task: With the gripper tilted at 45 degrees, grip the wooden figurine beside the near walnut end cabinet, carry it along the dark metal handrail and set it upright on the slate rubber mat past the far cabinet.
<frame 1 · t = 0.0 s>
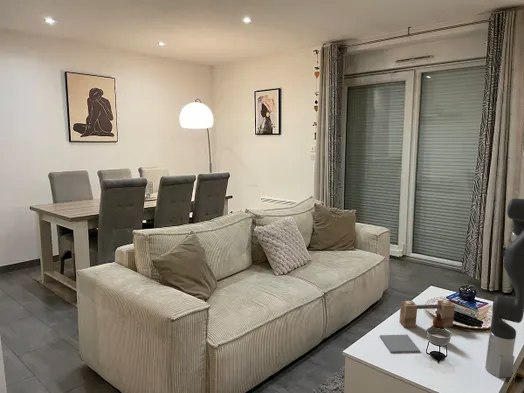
hand: (516, 264, 206), 31 cm above the table, tool tilted 20°, fingers open, 8 cm apart
wooden figurine: (436, 340, 190), on the table
slate mat: (399, 344, 186), on the table
handrail: (425, 324, 205), on the table
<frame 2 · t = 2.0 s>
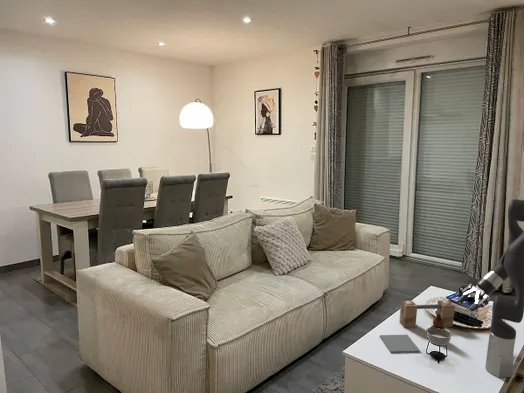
hand: (464, 305, 188), 17 cm above the table, tool tilted 45°, fingers open, 8 cm apart
nothing on the table moved.
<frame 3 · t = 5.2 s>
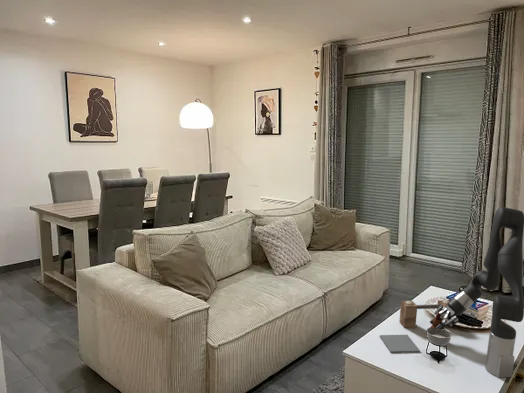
hand: (434, 326, 189), 7 cm above the table, tool tilted 45°, fingers closed on wooden figurine, 5 cm apart
wooden figurine: (436, 340, 190), on the table, touching gripper
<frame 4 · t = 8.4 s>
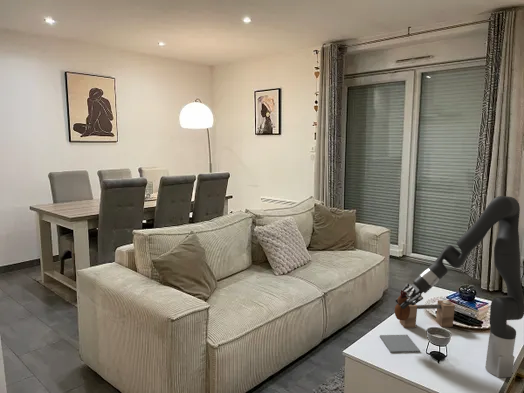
hand: (399, 304, 182), 20 cm above the table, tool tilted 45°, fingers closed on wooden figurine, 5 cm apart
wooden figurine: (401, 319, 184), point 13 cm above the table, touching gripper
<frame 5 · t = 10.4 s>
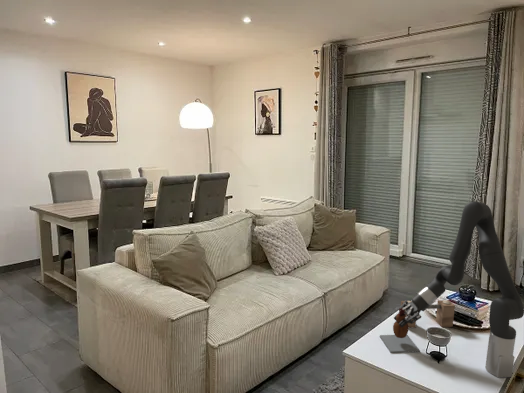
hand: (397, 322, 184), 11 cm above the table, tool tilted 45°, fingers closed on wooden figurine, 5 cm apart
wooden figurine: (400, 336, 186), point 4 cm above the table, touching gripper
when the fingers open (9 cm above the table, at t = 11.8 s): wooden figurine drops 1 cm, resting on slate mat.
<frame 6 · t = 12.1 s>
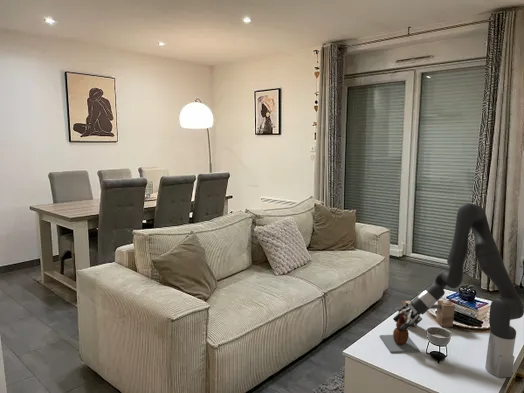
hand: (397, 325, 184), 10 cm above the table, tool tilted 45°, fingers open, 8 cm apart
wooden figurine: (400, 343, 185), point 1 cm above the table, touching slate mat
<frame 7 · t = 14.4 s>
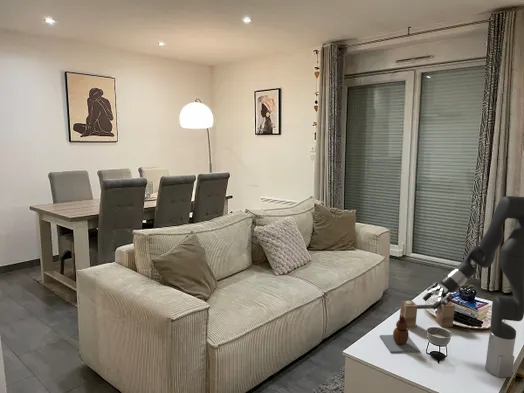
hand: (428, 303, 183), 20 cm above the table, tool tilted 45°, fingers open, 8 cm apart
nothing on the table moved.
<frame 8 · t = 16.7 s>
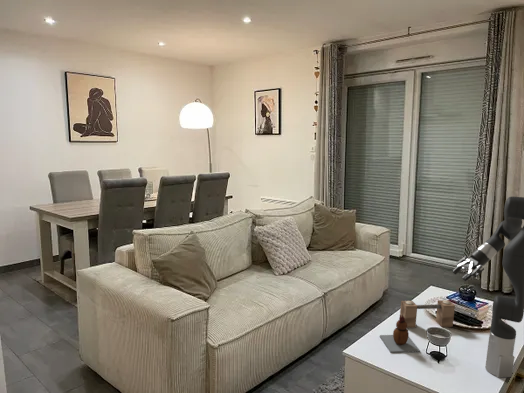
hand: (458, 276, 190), 31 cm above the table, tool tilted 45°, fingers open, 8 cm apart
nothing on the table moved.
at the end: wooden figurine inside the target area (0.4 cm from its centre), point 0.6 cm above the table; wooden figurine tilted 0°; the gripper is holding nothing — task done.
